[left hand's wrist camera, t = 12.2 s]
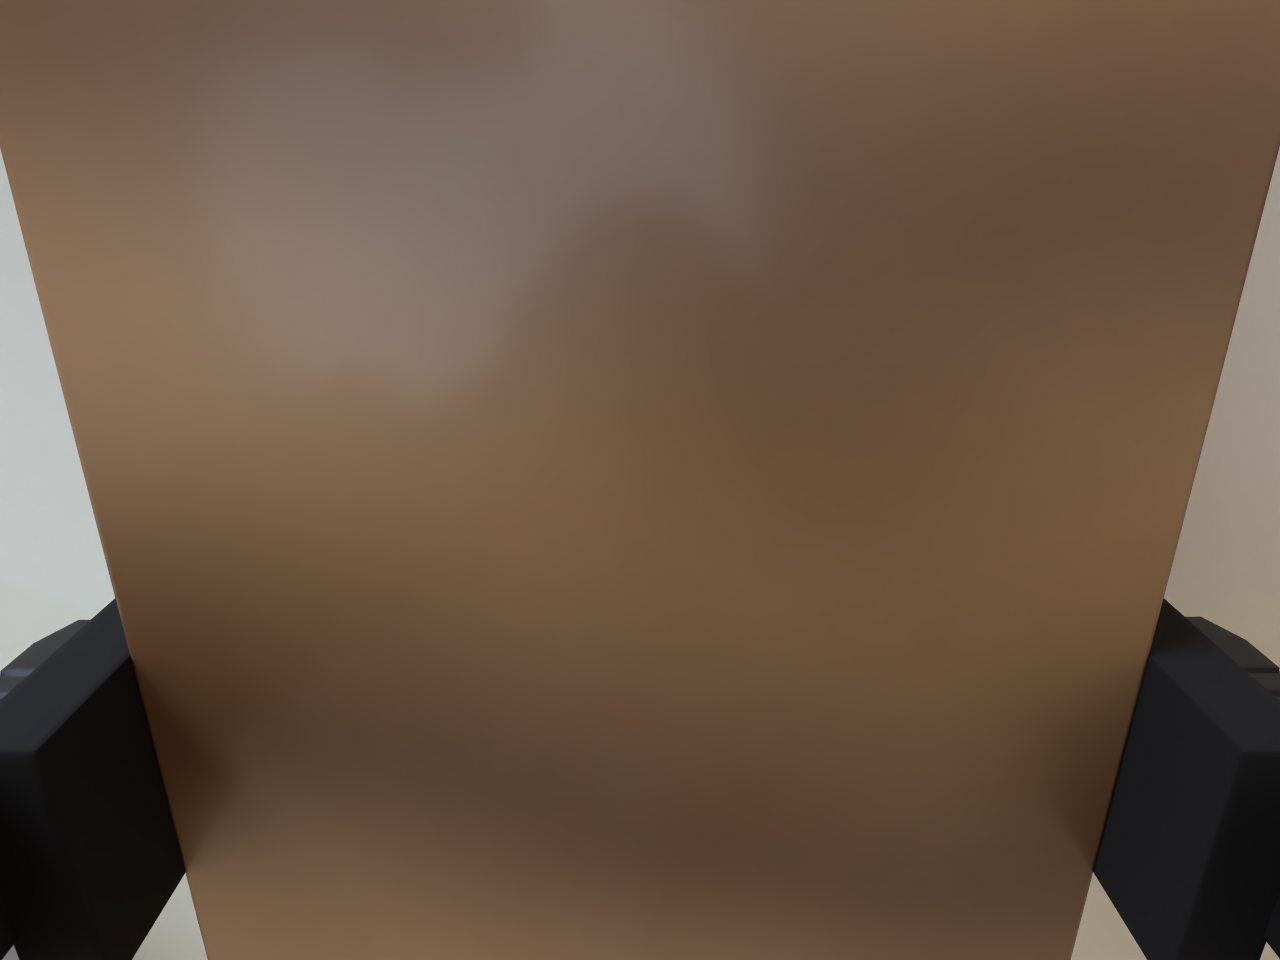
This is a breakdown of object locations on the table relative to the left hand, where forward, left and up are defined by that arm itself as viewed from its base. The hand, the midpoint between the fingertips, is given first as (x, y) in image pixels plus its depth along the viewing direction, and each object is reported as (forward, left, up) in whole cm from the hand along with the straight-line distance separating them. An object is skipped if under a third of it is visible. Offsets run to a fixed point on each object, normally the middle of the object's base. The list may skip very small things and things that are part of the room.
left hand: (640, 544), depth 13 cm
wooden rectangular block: (+3, -5, -3) cm, 7 cm away
